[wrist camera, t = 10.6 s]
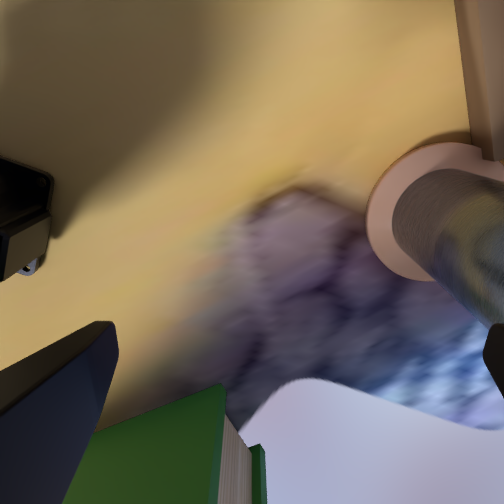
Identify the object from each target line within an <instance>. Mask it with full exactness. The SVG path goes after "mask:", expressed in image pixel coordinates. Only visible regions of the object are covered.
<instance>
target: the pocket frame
mask: <svg viewBox="0 0 504 504" xmlns="http://www.w3.org/2000/svg"><path fill="white" fill-rule="evenodd" d="M454 3H455V11H456V19H457V27H458V35H459V43H460V51H461V59H462V67H463V75H464V83H465V91H466V99H467V107H468V115H469V123H470V131H471V139H472V145H473V146H476V147H479V148H481V151H482V159H483V160H488V161H493V162H495V161H498V160H501V159H504V0H454Z"/></svg>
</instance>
